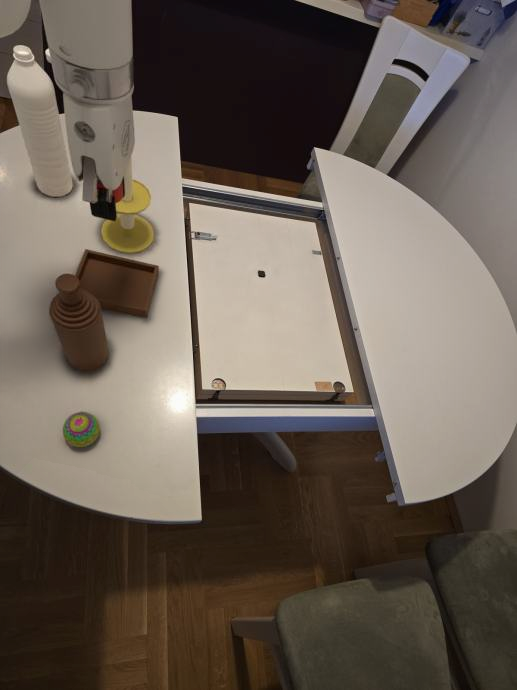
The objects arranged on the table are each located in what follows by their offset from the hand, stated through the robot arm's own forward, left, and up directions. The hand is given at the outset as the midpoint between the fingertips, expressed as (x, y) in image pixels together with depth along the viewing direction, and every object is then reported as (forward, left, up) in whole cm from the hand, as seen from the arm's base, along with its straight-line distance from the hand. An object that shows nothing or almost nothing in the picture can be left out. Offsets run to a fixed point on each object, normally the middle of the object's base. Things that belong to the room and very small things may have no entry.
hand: (108, 204), depth 54 cm
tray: (0, 0, -20) cm, 20 cm away
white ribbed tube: (-16, +21, -20) cm, 33 cm away
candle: (-1, +13, -20) cm, 24 cm away
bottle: (-1, -14, -20) cm, 25 cm away
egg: (+2, -27, -20) cm, 34 cm away
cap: (0, 0, +2) cm, 2 cm away
